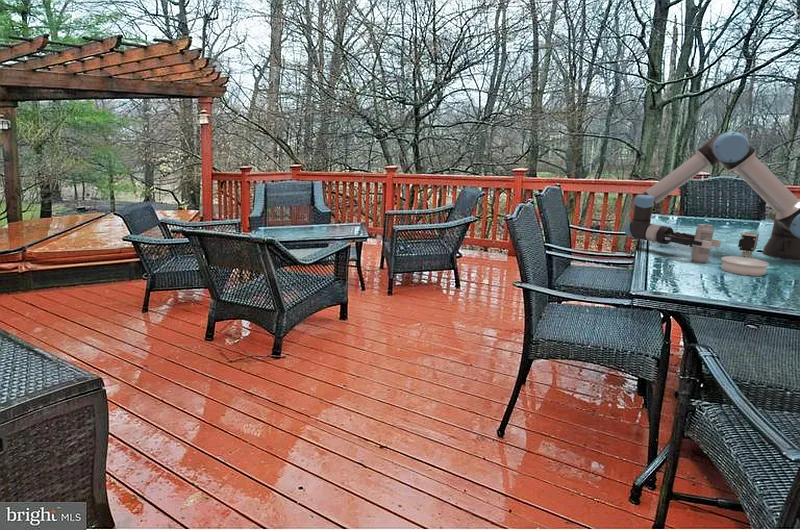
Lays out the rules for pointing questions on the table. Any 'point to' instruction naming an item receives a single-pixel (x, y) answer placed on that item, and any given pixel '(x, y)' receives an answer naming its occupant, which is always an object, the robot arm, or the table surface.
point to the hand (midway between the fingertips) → (715, 244)
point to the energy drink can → (704, 234)
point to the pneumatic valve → (748, 243)
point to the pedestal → (744, 265)
